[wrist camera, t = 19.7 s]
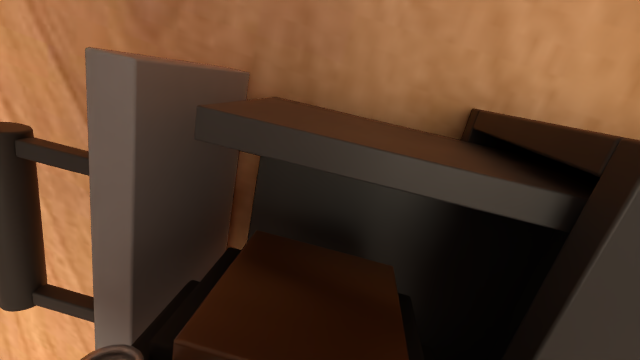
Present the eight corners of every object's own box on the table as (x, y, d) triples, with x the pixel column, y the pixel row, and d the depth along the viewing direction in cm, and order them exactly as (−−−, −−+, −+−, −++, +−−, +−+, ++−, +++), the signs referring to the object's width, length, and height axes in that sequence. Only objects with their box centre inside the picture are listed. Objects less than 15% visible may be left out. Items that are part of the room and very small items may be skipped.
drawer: (105, 286, 17) (-46, 402, 11) (100, 38, 13) (-149, -8, 7) (470, 391, 16) (541, 593, 10) (595, 152, 12) (871, 229, 5)
